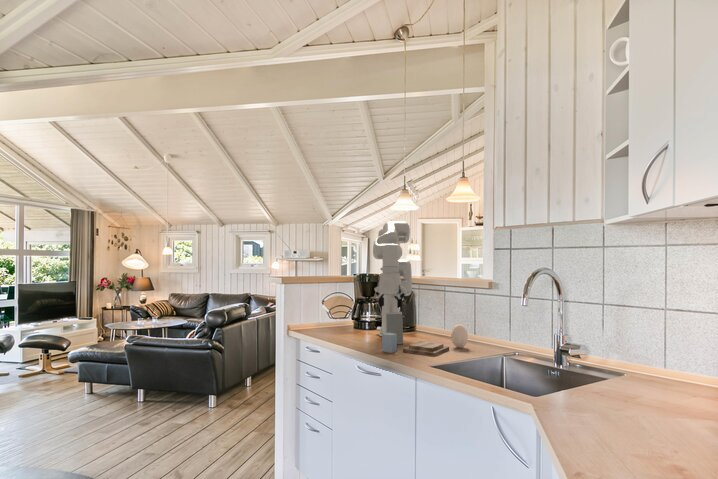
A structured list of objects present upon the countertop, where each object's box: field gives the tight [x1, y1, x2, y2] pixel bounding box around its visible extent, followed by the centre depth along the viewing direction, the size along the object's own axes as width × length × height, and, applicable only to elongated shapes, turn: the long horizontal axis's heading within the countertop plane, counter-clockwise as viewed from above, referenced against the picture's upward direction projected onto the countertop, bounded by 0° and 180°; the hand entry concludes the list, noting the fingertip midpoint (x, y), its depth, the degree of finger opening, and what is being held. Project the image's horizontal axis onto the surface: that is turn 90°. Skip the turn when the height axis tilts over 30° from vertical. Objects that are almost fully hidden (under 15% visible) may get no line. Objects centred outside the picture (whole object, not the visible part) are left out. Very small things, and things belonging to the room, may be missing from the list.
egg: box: [450, 323, 469, 349], centre depth 214 cm, size 8×8×11 cm
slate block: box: [381, 333, 398, 354], centre depth 206 cm, size 5×5×8 cm
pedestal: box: [402, 340, 450, 357], centre depth 206 cm, size 16×16×3 cm
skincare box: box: [386, 311, 404, 345], centre depth 224 cm, size 8×7×16 cm
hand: (390, 306), depth 207 cm, fingers open, 9 cm apart
